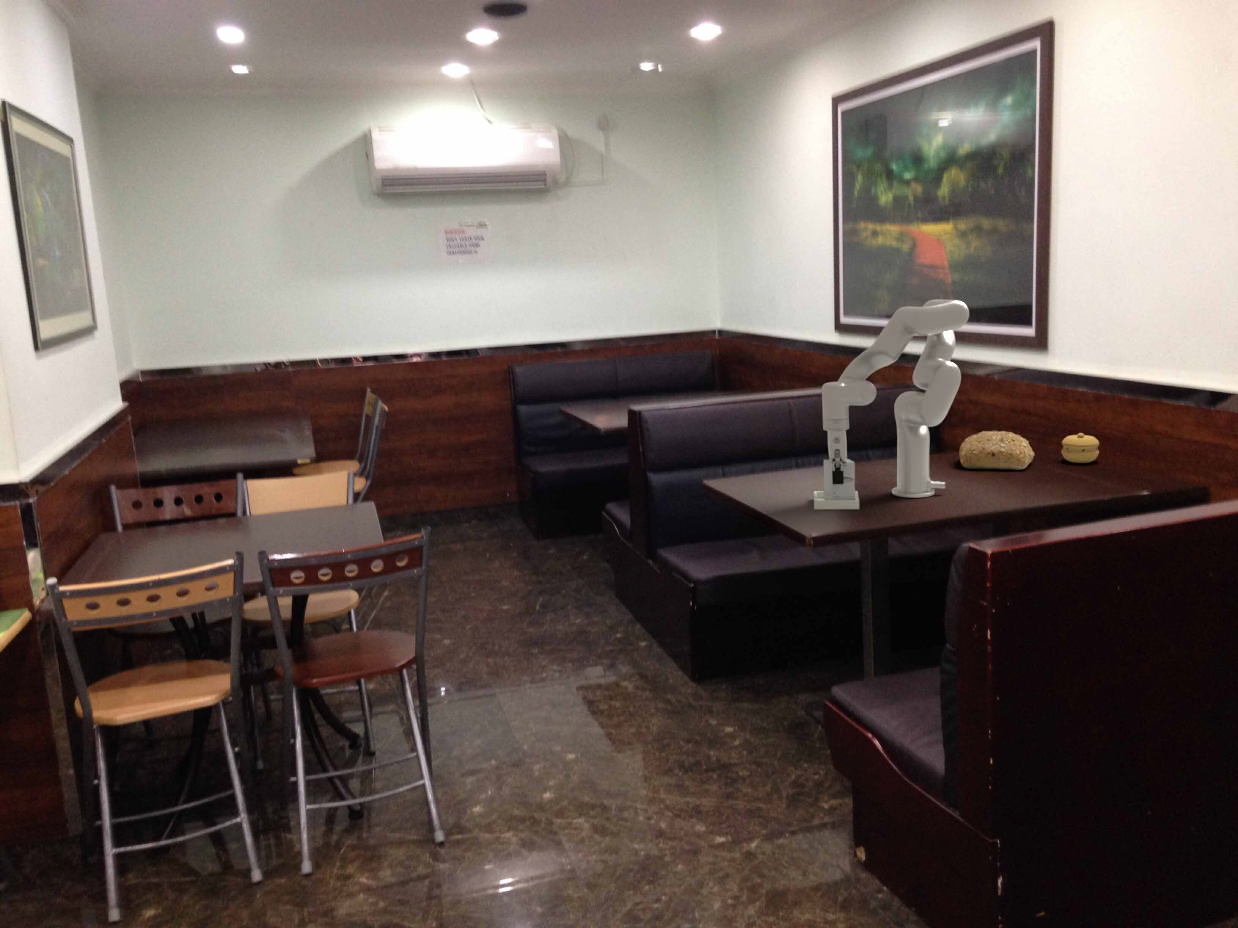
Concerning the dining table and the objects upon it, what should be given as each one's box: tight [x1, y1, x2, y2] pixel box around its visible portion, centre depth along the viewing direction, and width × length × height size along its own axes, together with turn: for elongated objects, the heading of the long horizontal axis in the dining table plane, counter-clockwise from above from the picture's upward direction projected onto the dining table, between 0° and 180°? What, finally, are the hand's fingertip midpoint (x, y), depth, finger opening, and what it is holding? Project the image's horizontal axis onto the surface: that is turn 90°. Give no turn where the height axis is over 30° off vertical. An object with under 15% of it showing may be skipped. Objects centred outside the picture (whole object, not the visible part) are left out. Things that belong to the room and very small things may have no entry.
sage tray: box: [813, 490, 860, 510], centre depth 311 cm, size 13×13×2 cm
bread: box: [958, 429, 1036, 471], centre depth 353 cm, size 24×21×12 cm
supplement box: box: [823, 458, 856, 500], centre depth 310 cm, size 7×7×13 cm
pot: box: [1060, 432, 1100, 464], centre depth 352 cm, size 12×12×10 cm
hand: (837, 480), depth 310 cm, fingers open, 9 cm apart
